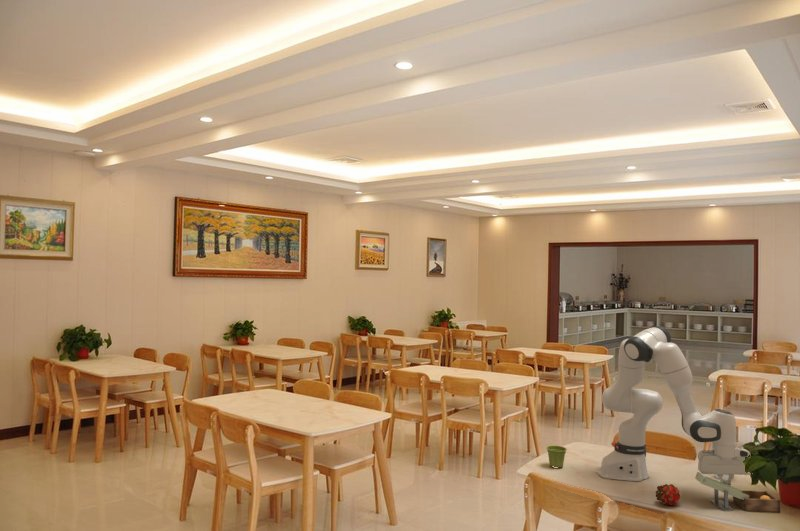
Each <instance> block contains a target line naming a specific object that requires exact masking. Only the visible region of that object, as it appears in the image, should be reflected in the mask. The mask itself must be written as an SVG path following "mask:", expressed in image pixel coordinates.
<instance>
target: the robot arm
mask: <svg viewBox="0 0 800 531" xmlns="http://www.w3.org/2000/svg"><path fill="white" fill-rule="evenodd" d="M651 361H654V362H655V363H656V365H657V366H658V368H659V370H660V373H661V376H662V378H663V380H664V381H665V383H666V385H667V386H668V388H669V389H670V391H671V392H672V394H673V395H674V397H675V400H676V403H677V406H678V407H679V410H680V413H681V414H680V415H681V428H682V429H683V431H684V432H685V434H687V435H688V436H689V437H691V438H692V439H693V440H694V441H696V442H697V443H698V442H699V443H711V442H712V444H711V445H712V448H711V449H708V450H705V449H704V450H703V449H702V450H701V451H699V452H698V453H697V455H698V456H697V458H698V464H697V470H698V472H700V473H701V474H702V475H715V474H717V476H718V478H719V480H720V481H719V482H722V483H724V484H727V485H729V486H732V482H733V479H734V478H735V476H736V475H737V476H738V475H740V476H741V475H743V476H748V475H749V476H752V475H751V473H746V472H745V465H744V463H743V461H744V460H745V457H748V456H749V455H750V456H751V451H749V450H747V449H745V448H744V447H740V446H738V441H737V438H736V437H737V422H736V417H735V414H733V413H732V412H730V411H728V410H726V409H720V408H715V409H713V410H712V411H710V412H709V413H706V414H704V415H703V414H702V413H701V412H700V411H699V410H698V409H697V408H698V407H697V406H696V403H695V401H694V399H693V395H692V393H691V386H692V384H693V382H694V378H693V373H692V370H691V368H690V365H689V362H688V360H687V358H686V357H685V355H684V353H683V352H682V350H681V348H680V347H679V346H678V345H677V343H674V342H672V336H671V333H670V331H669V330H668V329H667V328H666V327H664V326H662V325H653V326H651V327H649V328H646V329H643V330H641V331H640V332H638V333H636V334H634V335H633V336H630V337H629V338H625V339H623V341H621V342H620V345H619V348H618V361H617V364H618V368H617V370H618V371H617V377H616V380H615V381H614V382H613V384H611V385H610V386H609V387H607V388H606V389H604V390H603V392H602V394H601V402H602V405H603V407H604V408H605V409H606V410H609V411H613V412H616V413H626V414H627V413H629V414H633V415H632V417H631V418H628V419H626V420H623V421H622V422H621V423H620V424H619V425H618V441H617V442H615V441H612V442H611V446H612V447H613V451H611V452H609V453H608V454H607V455H605V456H604V457H602V460H601V466H598V467H596V469H595V472H596V471H597V473H598V474H599V475H600V476H599V475H598V474H597V473H596V474H597V475H598V476H599V477H600V478H602V479H606V480H607V479H608V480H618V481H619V480H620V481H629V482H641V481H643V480H647V479H648V478H650V477H649V476H650V475H649V471H648V468H647V467H648V466H647V461H646V458H647V444H646V430H647V425H648V423H649V421H651V419H652V418H653V417H654V416H655V415H657V414H658V413H659V412H660V411H661V410H662V408H663V405H664V404H663V402H664V401H663V397H662V396H661V394H660V393H659V392H658V391H656V390H653V389H652V390H651V389H647V388H634V387H636V386H639V385H640V384H641V383H643V382H644V381H645V377H646V363H649V362H651ZM723 474H728V476H729V478H728V480H723V479H722V477H723ZM718 478H717V479H718Z"/></svg>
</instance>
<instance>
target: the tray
mask: <svg viewBox="0 0 800 531" xmlns="http://www.w3.org/2000/svg"><path fill="white" fill-rule="evenodd" d="M741 490H742V489H741ZM742 493H744V494H746V495H749V499H746V498H744V500H742V499H739V498H737V497H734V496H732V502H733V503H734V504H736V505H737V506H739V507H740V509H742V510H743V511H745V512H760V513H761V512H763V513H764V512H765V513H767V512H768V513H781V499H779V498H777V497H775V496H774V495H773V494H771V493H770V492H768V491H767V490H742ZM763 495H766V496H768V497H770V499H760V497H761V496H763Z"/></svg>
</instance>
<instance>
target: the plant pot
mask: <svg viewBox="0 0 800 531" xmlns="http://www.w3.org/2000/svg"><path fill="white" fill-rule="evenodd" d="M546 450H547V454H548V463H549V466H550V465H551V466H554V467H564V463H565V456H566V453H567V450H568V448H566V447H564V446H561V445H548V446H546ZM551 466H550V467H551Z"/></svg>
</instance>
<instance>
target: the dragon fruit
mask: <svg viewBox="0 0 800 531" xmlns="http://www.w3.org/2000/svg"><path fill="white" fill-rule="evenodd" d="M656 487H657V488H656V491H655V497H656V500H657V501H659V502H661V504H662V505H664V506H666V507H667V506H668V505H670V506H676V505H677V503H678V502H679V500H680V499H681V496H682V495H681V494H680V490H679V488H678V487H677V486H675V485H674V484H673V483H670V484H667V483H664V484H663V485H658V486H656Z"/></svg>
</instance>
